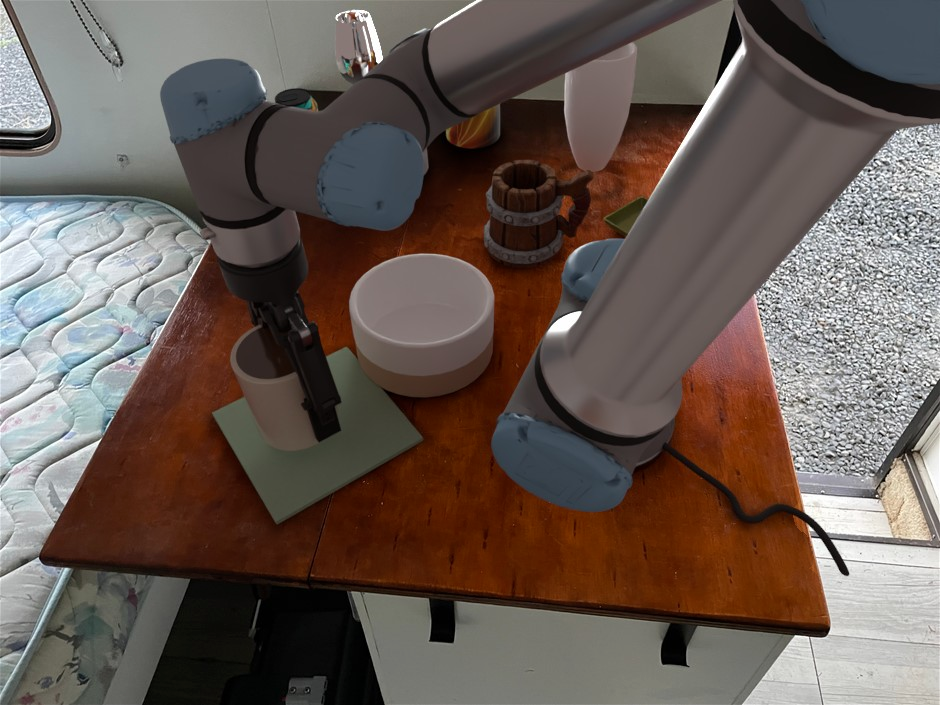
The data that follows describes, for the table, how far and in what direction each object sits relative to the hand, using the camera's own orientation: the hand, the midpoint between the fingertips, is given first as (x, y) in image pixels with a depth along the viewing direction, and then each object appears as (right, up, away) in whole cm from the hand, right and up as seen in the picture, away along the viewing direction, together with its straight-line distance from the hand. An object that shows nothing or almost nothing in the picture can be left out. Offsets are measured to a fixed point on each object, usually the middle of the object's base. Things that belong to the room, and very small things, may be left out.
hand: (308, 406), depth 79 cm
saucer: (+44, +24, +26) cm, 56 cm away
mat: (0, -3, +3) cm, 4 cm away
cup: (+37, +34, +36) cm, 62 cm away
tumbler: (-5, +1, -5) cm, 7 cm away
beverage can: (-10, +39, +43) cm, 59 cm away
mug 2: (+27, +21, +25) cm, 43 cm away
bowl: (+12, +6, +11) cm, 18 cm away
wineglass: (0, +46, +50) cm, 68 cm away
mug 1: (+16, +45, +48) cm, 67 cm away
